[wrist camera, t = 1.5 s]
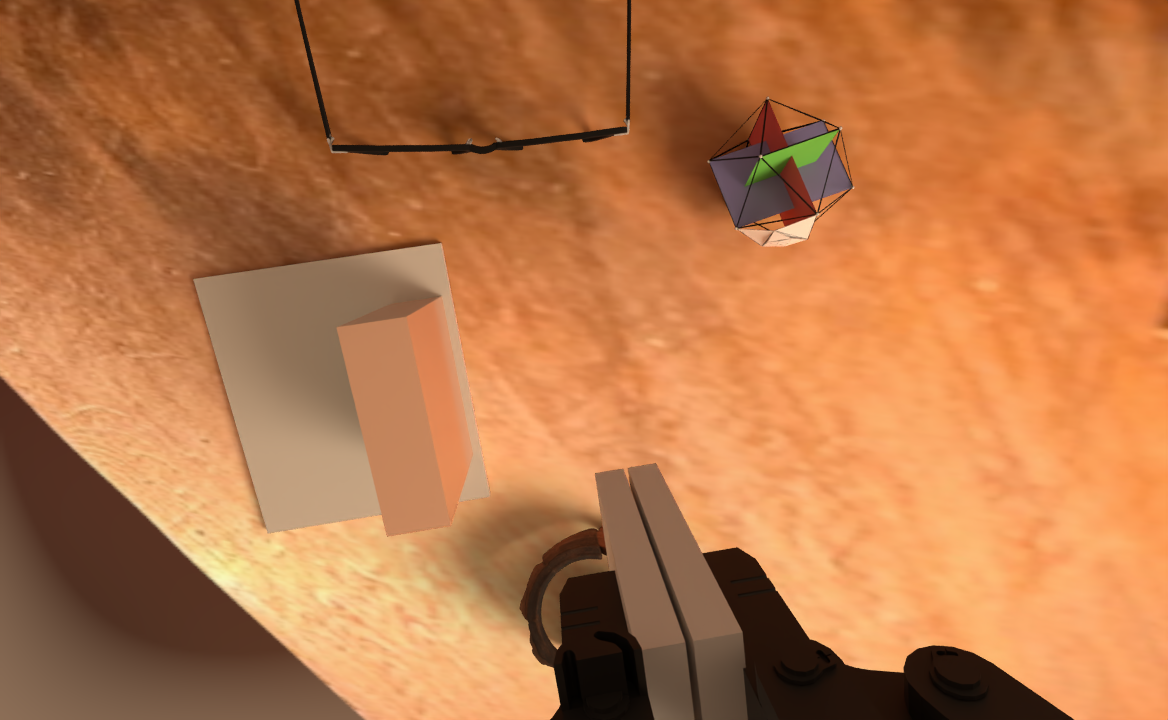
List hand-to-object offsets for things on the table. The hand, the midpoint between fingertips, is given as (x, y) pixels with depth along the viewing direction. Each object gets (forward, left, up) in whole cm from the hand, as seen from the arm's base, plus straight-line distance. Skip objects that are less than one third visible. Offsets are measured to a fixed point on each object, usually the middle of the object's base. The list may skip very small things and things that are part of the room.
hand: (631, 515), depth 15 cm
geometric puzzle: (-9, +12, -21) cm, 25 cm away
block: (0, -9, -20) cm, 22 cm away
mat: (0, -14, -20) cm, 25 cm away
